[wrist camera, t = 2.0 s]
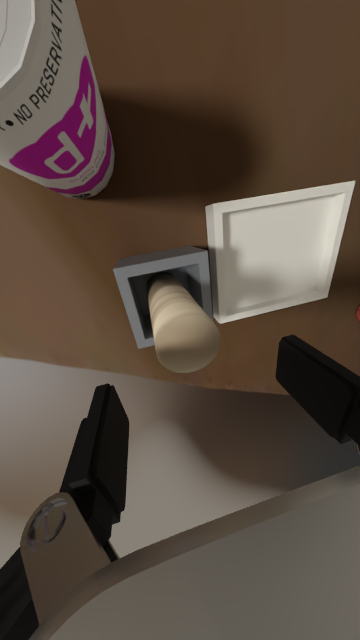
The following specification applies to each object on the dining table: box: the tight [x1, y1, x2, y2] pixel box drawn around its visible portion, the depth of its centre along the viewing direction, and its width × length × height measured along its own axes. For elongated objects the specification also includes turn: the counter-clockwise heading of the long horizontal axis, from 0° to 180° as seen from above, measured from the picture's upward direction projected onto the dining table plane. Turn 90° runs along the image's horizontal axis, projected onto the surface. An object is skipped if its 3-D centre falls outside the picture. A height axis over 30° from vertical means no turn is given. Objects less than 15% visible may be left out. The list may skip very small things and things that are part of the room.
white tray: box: [205, 181, 355, 324], centre depth 25 cm, size 15×18×2 cm
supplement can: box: [0, 0, 115, 199], centre depth 11 cm, size 8×8×15 cm
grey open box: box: [113, 246, 213, 349], centre depth 22 cm, size 9×9×7 cm
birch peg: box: [146, 271, 221, 373], centre depth 18 cm, size 4×4×14 cm
